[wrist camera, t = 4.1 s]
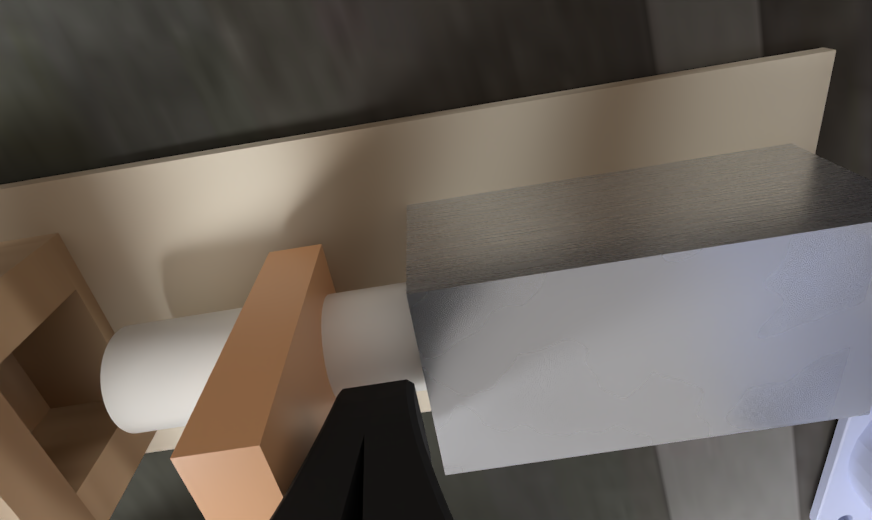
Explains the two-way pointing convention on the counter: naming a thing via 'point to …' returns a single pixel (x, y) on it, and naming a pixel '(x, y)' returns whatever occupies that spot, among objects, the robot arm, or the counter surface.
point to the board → (386, 183)
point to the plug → (257, 378)
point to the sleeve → (643, 306)
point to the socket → (56, 392)
